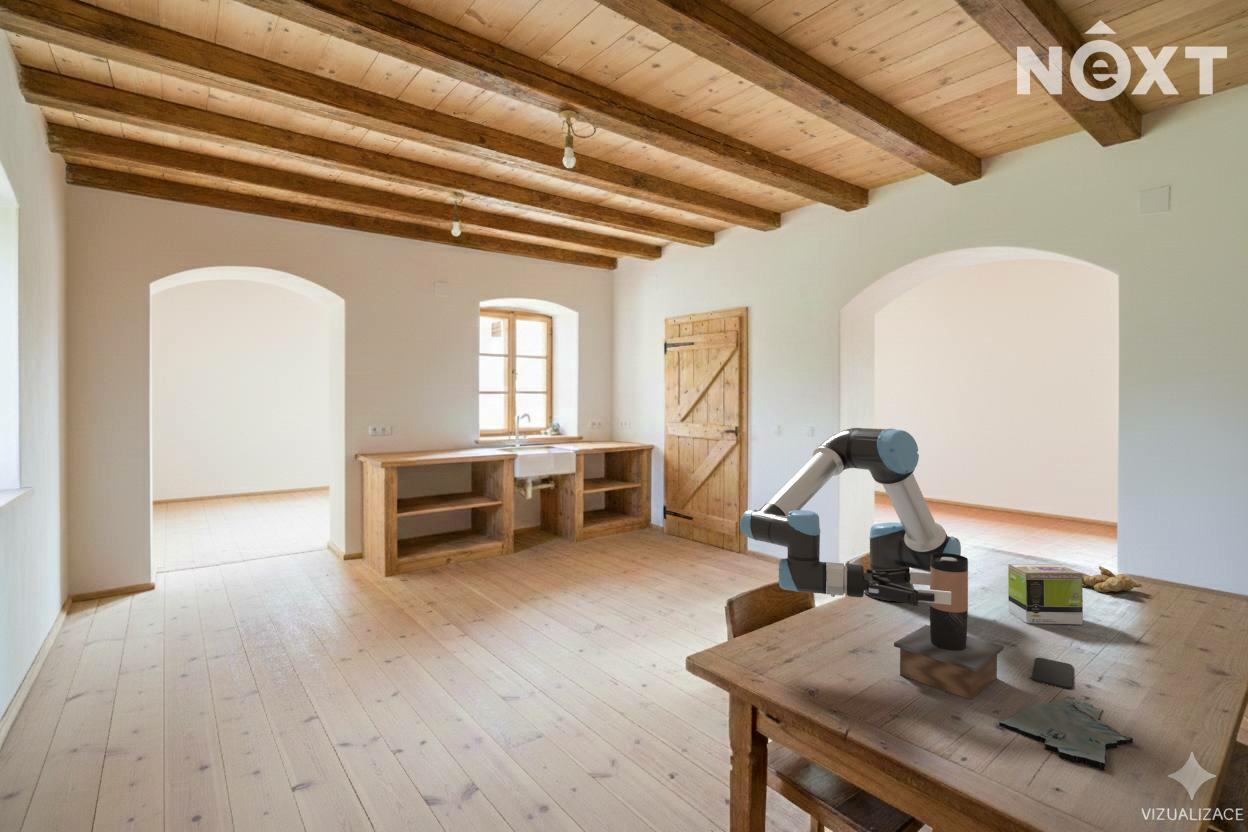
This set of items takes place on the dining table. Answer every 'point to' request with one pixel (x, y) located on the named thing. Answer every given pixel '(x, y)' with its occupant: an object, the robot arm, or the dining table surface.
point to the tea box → (1045, 593)
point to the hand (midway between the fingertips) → (945, 588)
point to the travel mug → (951, 619)
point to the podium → (949, 663)
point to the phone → (1053, 673)
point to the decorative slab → (1068, 730)
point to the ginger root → (1109, 581)
